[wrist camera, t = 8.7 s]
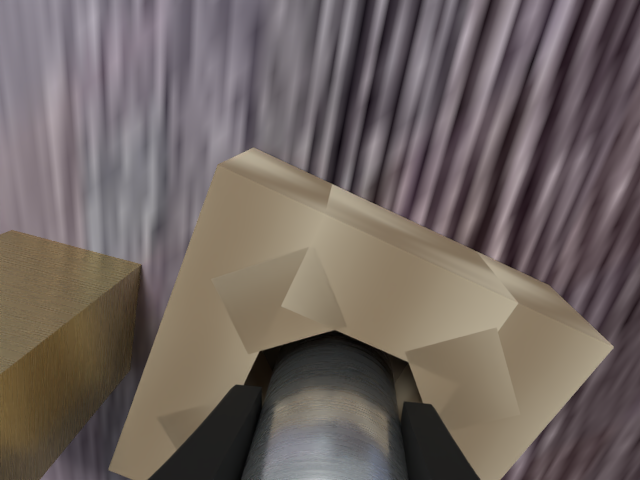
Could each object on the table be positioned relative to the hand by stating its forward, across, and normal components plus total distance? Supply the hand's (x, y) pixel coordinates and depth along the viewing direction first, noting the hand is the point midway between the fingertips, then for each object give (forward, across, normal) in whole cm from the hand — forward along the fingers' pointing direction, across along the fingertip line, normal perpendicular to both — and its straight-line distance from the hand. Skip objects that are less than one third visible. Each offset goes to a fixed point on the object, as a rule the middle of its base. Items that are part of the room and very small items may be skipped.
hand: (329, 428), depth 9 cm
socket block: (+3, 0, 0) cm, 3 cm away
